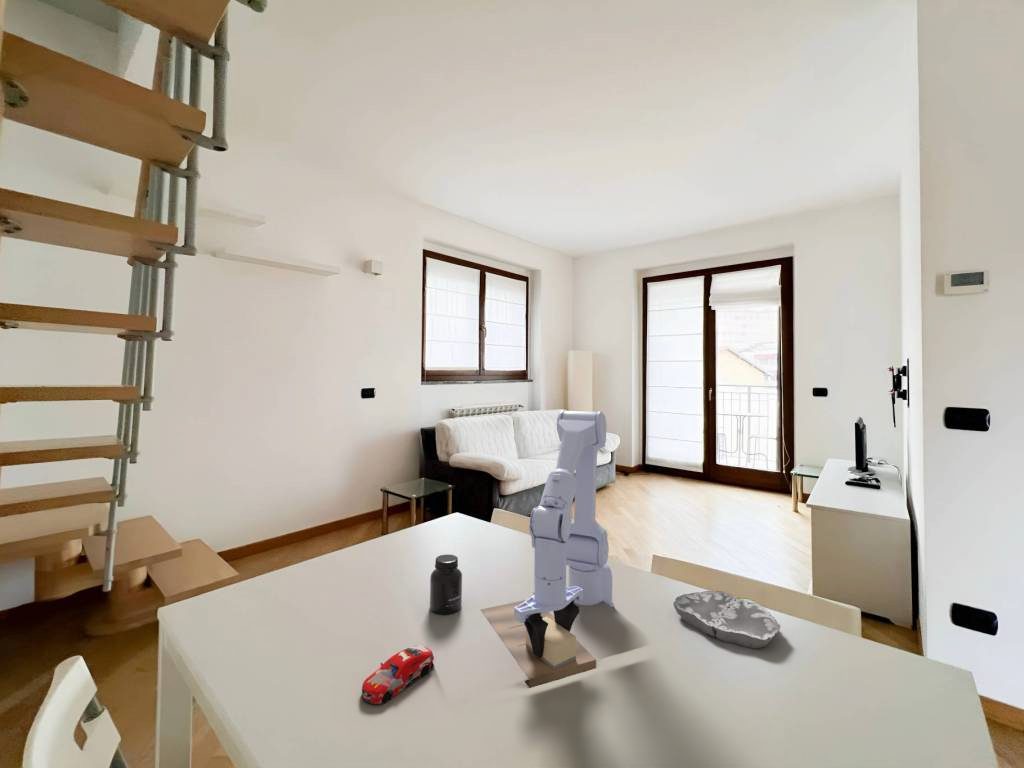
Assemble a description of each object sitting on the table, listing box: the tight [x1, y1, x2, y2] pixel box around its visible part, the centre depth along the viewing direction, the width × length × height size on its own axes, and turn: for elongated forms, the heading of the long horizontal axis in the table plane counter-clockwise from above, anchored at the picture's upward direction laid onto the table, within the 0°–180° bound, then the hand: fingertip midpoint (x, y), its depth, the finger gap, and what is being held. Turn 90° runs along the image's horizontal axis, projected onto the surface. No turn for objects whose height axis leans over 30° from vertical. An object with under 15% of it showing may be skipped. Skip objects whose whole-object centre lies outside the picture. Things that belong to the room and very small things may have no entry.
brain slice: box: [673, 590, 781, 649], centre depth 92 cm, size 20×17×3 cm
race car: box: [361, 644, 435, 705], centre depth 74 cm, size 13×5×4 cm, turn 142°
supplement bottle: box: [429, 554, 463, 616], centre depth 95 cm, size 7×7×12 cm
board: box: [480, 599, 597, 689], centre depth 86 cm, size 24×13×2 cm, turn 24°
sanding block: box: [526, 617, 577, 669], centre depth 79 cm, size 5×8×4 cm, turn 35°
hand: (549, 649), depth 79 cm, fingers closed on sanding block, 5 cm apart
